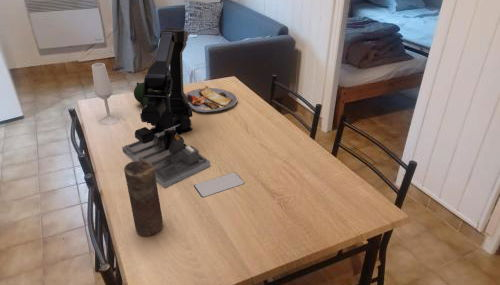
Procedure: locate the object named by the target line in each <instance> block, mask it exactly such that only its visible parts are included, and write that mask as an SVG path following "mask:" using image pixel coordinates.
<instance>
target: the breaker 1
mask: <svg viewBox="0 0 500 285" xmlns="http://www.w3.org/2000/svg"><path fill="white" fill-rule="evenodd" d="M153 128H155V126H152V127H150V129H153ZM154 140H155V141H156V142H160V140H159V139H157V138H156V137H154Z"/></svg>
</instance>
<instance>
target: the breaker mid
mask: <svg viewBox="0 0 500 285" xmlns="http://www.w3.org/2000/svg"><path fill="white" fill-rule="evenodd" d="M184 139H185V138H184V137H183V136H182V135H181V134H180V135H179V134H176V135H175V137H174V138H173V140H172V142H171V145H170V147H169V149H170V150H172V151H173V152H174V153H175V152H178V151H180V150H183V149H185V148H184V144H185V140H184Z"/></svg>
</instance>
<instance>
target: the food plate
mask: <svg viewBox="0 0 500 285" xmlns="http://www.w3.org/2000/svg"><path fill="white" fill-rule="evenodd" d="M185 95H186V96H187V98H188V104H189V105H190V106H191V108H192V110H194V111H195V112H201V113H207V112H208V113H209V112H217V111H222V110H225V109H228V108H231V107H234V106H235V104H236V103H237V102H238V97H237V96H236V94H234V93H233V92H230V91H228V90H226V89H221V88H212V87H209V86H204V87H203V88H198V89H194V90H193V89H192V90H191V91H188V92H187V93H185ZM220 106H221V107H220Z"/></svg>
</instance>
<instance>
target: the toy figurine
mask: <svg viewBox="0 0 500 285" xmlns="http://www.w3.org/2000/svg"><path fill="white" fill-rule="evenodd" d="M143 89H144V81H143V82H136V86H135V87H134V90H133V97H134V98H135V100H136V101H137V102H138V103H139V104H140V106H142V109H143V108H144V107H145V106H146V103H147V101H148V98H143ZM148 91H151V92H155V91H156V90H149V89H148Z"/></svg>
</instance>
